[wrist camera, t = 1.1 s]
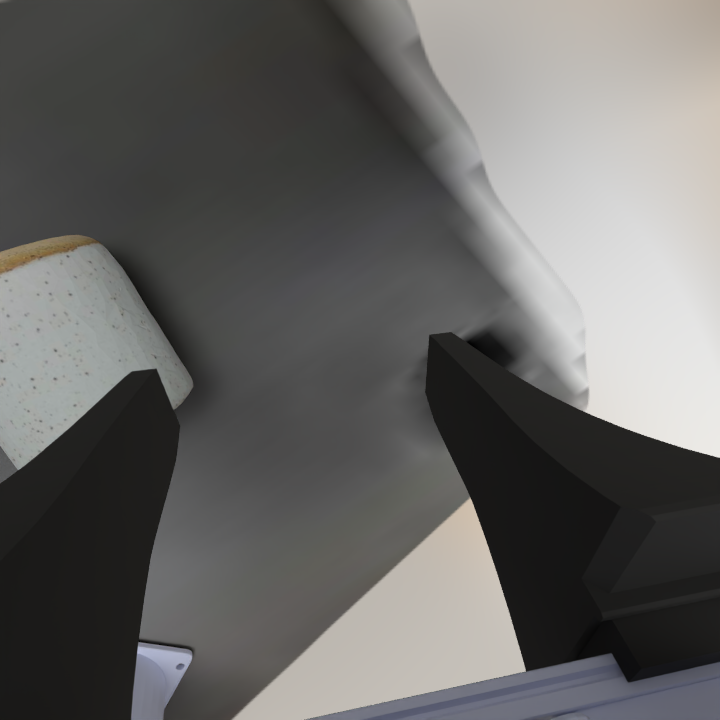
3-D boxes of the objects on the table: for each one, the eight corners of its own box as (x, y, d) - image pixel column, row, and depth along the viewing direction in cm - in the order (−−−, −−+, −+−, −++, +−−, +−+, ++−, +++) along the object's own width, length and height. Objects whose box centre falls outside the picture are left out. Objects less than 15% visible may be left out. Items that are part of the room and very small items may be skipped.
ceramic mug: (112, 226, 21) (59, 218, 14) (199, 367, 24) (193, 419, 17) (-118, 323, 19) (-317, 371, 12) (7, 462, 22) (-91, 567, 15)
